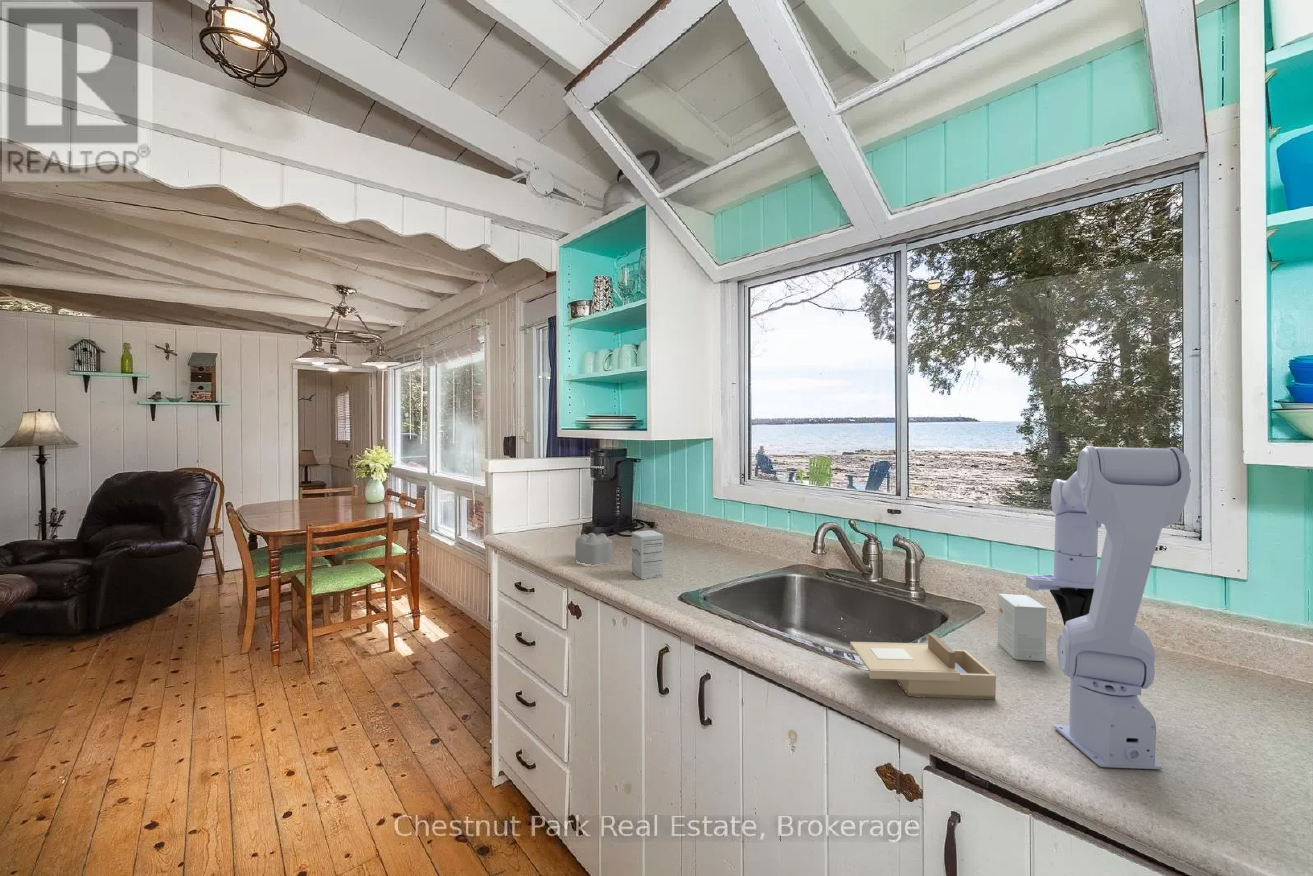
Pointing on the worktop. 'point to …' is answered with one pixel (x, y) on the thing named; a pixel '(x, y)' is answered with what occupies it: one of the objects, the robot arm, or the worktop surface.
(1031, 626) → the small box
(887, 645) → the lid
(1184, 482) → the robot arm
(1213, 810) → the worktop surface
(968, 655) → the mailer box
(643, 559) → the supplement box
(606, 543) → the lumpy-topped squat cylinder
